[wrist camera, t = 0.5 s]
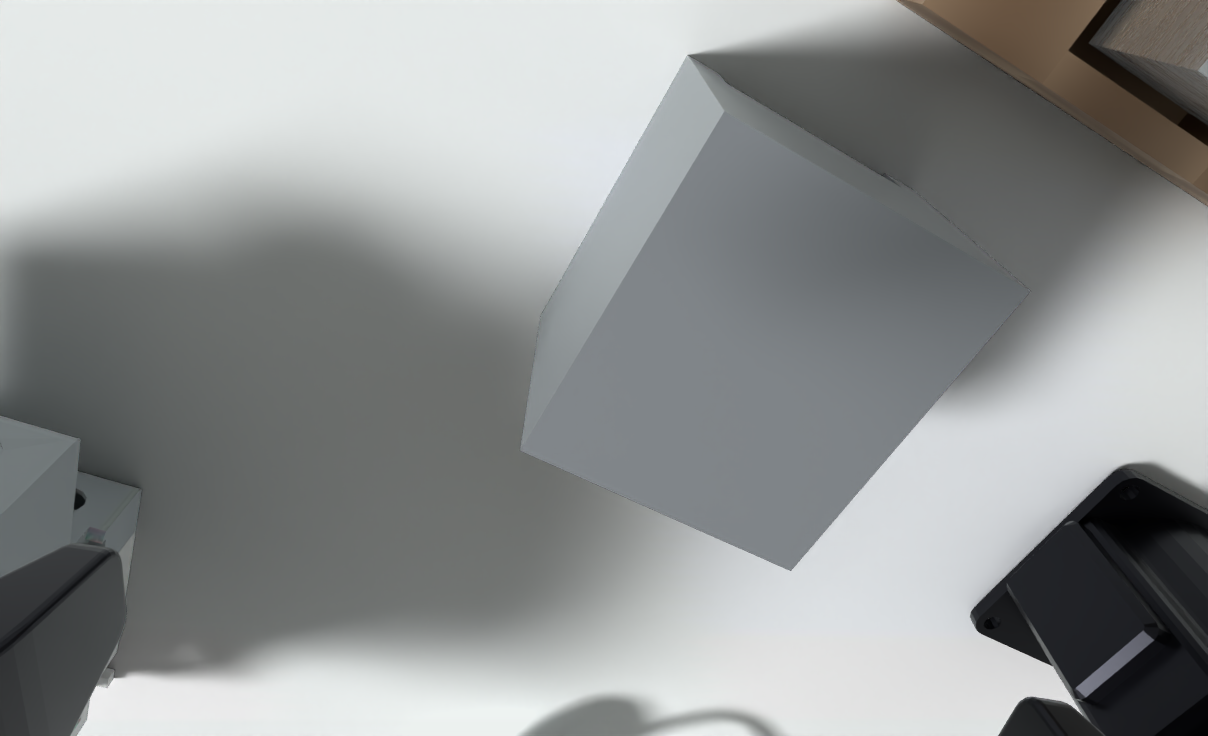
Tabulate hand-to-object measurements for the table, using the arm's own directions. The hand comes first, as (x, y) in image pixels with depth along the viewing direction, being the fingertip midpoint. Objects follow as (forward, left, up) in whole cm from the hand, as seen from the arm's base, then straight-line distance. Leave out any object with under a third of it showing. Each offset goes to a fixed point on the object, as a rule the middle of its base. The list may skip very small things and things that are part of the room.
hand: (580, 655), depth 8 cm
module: (-3, -1, -13) cm, 13 cm away
